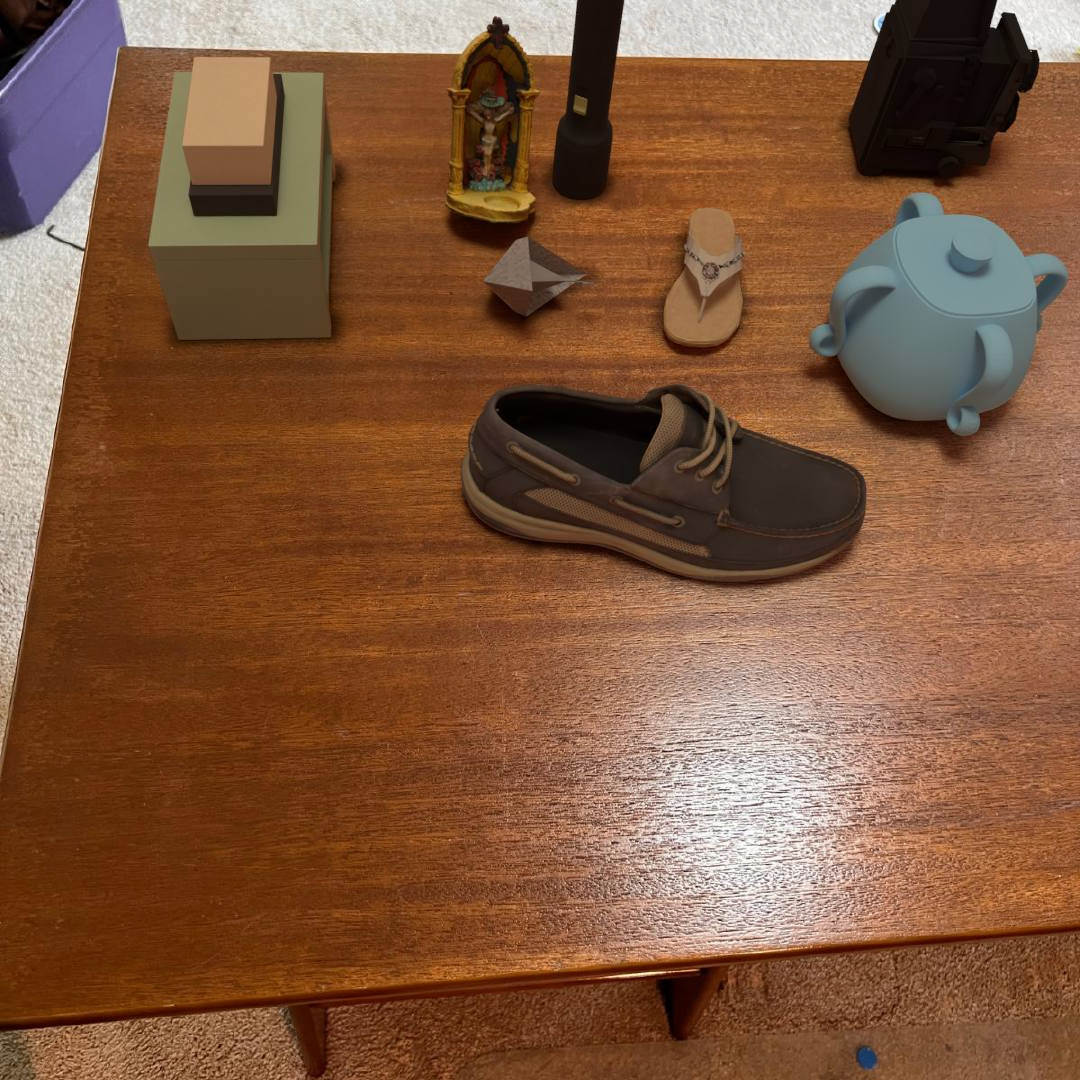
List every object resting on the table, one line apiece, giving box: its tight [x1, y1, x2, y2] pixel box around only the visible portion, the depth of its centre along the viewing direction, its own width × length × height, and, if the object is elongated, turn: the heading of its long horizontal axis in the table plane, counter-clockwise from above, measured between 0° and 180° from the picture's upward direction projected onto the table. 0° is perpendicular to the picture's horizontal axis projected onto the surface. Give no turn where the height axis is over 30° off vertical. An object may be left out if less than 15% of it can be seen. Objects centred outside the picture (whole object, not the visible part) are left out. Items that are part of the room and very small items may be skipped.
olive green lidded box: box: [147, 71, 336, 341], centre depth 87 cm, size 20×12×10 cm, turn 5°
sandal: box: [662, 207, 746, 348], centre depth 90 cm, size 7×16×5 cm, turn 175°
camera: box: [848, 0, 1041, 179], centre depth 95 cm, size 10×14×20 cm
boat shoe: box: [460, 383, 868, 583], centre depth 75 cm, size 11×29×11 cm, turn 86°
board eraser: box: [182, 56, 285, 216], centre depth 81 cm, size 14×6×6 cm, turn 5°
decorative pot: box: [808, 192, 1069, 437], centre depth 84 cm, size 16×16×14 cm
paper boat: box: [483, 236, 597, 317], centre depth 88 cm, size 12×6×9 cm
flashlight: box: [551, 0, 625, 201], centre depth 89 cm, size 5×24×5 cm
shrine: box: [444, 15, 541, 224], centre depth 90 cm, size 12×8×15 cm
